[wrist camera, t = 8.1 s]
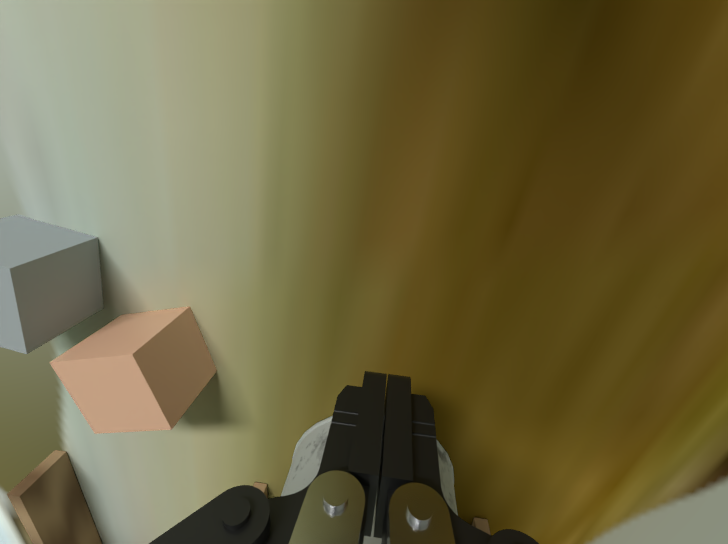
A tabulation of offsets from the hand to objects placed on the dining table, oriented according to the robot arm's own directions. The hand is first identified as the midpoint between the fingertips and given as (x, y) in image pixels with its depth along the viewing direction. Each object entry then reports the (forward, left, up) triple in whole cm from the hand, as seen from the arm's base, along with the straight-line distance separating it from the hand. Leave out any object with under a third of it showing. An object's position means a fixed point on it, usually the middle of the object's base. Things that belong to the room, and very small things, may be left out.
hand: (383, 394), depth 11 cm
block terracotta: (+3, -11, -5) cm, 13 cm away
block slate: (-1, -16, -5) cm, 17 cm away
